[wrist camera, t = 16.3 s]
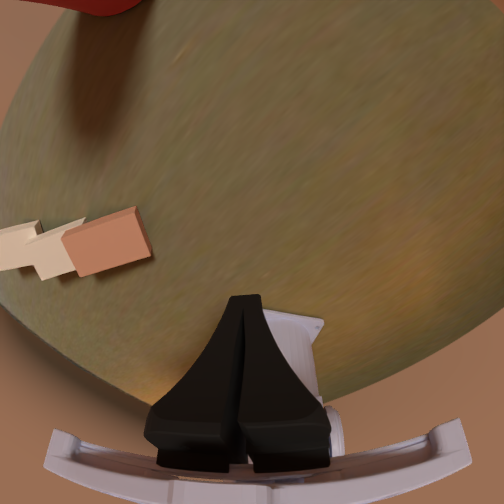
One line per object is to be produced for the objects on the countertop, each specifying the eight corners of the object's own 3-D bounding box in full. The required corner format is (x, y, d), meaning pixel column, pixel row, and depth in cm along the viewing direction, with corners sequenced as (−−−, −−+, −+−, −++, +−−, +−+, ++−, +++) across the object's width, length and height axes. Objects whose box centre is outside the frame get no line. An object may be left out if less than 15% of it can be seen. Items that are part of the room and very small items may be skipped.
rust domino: (134, 212, 20) (60, 238, 20) (150, 256, 23) (80, 277, 22) (136, 205, 22) (65, 230, 21) (151, 247, 24) (83, 268, 23)
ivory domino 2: (81, 224, 21) (23, 246, 20) (98, 262, 23) (41, 280, 22) (86, 217, 22) (29, 238, 21) (101, 254, 24) (46, 272, 23)
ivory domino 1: (34, 226, 21) (-15, 238, 19) (46, 262, 23) (-2, 271, 21) (39, 220, 22) (-9, 232, 20) (50, 254, 24) (3, 263, 23)
